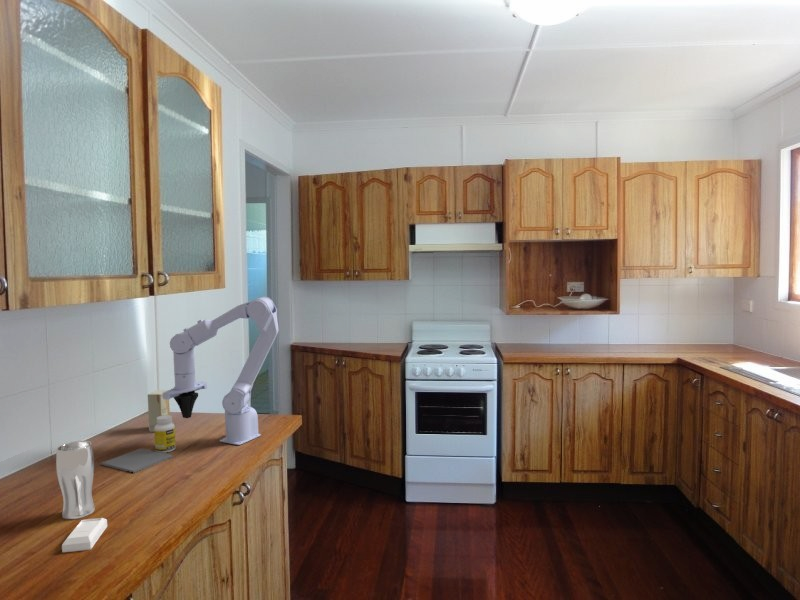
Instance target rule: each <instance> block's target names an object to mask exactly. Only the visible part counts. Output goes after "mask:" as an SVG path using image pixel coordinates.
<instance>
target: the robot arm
mask: <svg viewBox="0 0 800 600" xmlns="http://www.w3.org/2000/svg"><path fill="white" fill-rule="evenodd" d="M239 319H251V320H252V321H253V322H254V324H256V327H257V329H258V331H259V334H258V336H257V339H256V341H255V342H254V345H253V347H252V349H251V351H250V353H249V355H248V357H247V359H246V361H245V363H244V364H243V365H244V366H243V367H242V369H241V371H240V373H239V376H238V377H237V379H236V381H235V383H234V384H233V386H232V387H231V389H230V391H229V392H228V393H227V394H226V395H224V397H223V398H222V401H221V403H222V404H221V405H222V408H223V410H224V421H225V422H224V424H225V426H224V427H225V437H223V438H220V439H219V442H220V443H226V444H231V445H236V446H241V445H243V444H245V443H247V442H250V441H251V440H254V439H256V438H258V437H260V436H261V435H262V434H261V433H259V417H258V416H259V415H258V413H257V410H256V409H255V408H254V407H252V406H249V402H250V401H251V397H252V396H251V395H252V393H251V392H252V389H253V386H254V382H255V381H256V379H257V376H258V374H259V373H260V370H261V369H262V367H263V365H264V362H265V360H266V359H267V356H268V354H269V352H270V351H271V349H272V347H273V344H274V342H275V341H276V338H277V336H278V333H279V324H278V308H277V307H276V305H275V303H274V301H273V300H272V299H271V298H270V297H268V296H260V297H258V298H255V299H252V300H250V301H246V302H244V303H241V304H238V305H236V306H234V307H232V308H231V309H230V310H227V311H226V312H225V313H222V314H220V316H218V317H216V318H215V319H207V318H205V319H202V318H200V319H199V320H198V321H197V323H196V324H194V325H192V326H190V327H185V328H184V329H183V331H182V332H179V333H176V334H175V335H173V336H172V337H171V339H170V341H169V347H170V349H171V350H172V353H173V374H174V387H173V388H171V389H167V390H168V391H166V392H163V399H166V400H168V399H169V400H171V399H172V398H173V399H174V401H175V402H176V404H177V405H178V407H179V410H180V411H181V412H180V413H181V415H182V418H183V419H189V418H192V414H193V411H194V410H193V409H194V406H195V403H196V400H197V399H198V397H199V393H198V392H196V391H200V390H206V389H207V388H208V383H207V382H206V381H201V382H196V368H195V367H196V366H195V365H196V364H195V363H196V362H195V351H194V349H195V347H196V346H200V345H202V344H203V343H205V342H207V341H209V340H210V339H213V338H214V337H216V336H217V333H218V330H220V329H221V328H223V327H225V326H227V325H229V324H231V323H233V322H235V321H237V320H239Z"/></svg>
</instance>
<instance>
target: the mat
mask: <svg viewBox="0 0 800 600" xmlns="http://www.w3.org/2000/svg"><path fill="white" fill-rule="evenodd" d="M169 458H170V459H172V458H173V455H172V454H168V453H161V452H156V451H155V450H152V449H146V448H143V447H141V448H138V449H135V450H133V451H130V452H127V453H124V454H121V455H118V456H117V457H113V458H111V459H108V460H104V461H103V462H101V465H102V466H105V467H108V468H112V469H116V470H120V471H123V470H124V472H127V471H129V472H128V473H131V472H133V473H132V474H135V473H137V471H138V472H140V471H143V470H146V469H147V467H148V468H150V467H153V466H155V465H157V464H160V463H162V462H164V460H165V461H167V460H170V459H169ZM161 461H162V462H161ZM159 462H160V463H159ZM154 464H155V465H154ZM152 465H153V466H152ZM142 469H143V470H142ZM139 470H140V471H139ZM134 472H135V473H134Z"/></svg>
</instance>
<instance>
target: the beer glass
mask: <svg viewBox="0 0 800 600" xmlns="http://www.w3.org/2000/svg"><path fill="white" fill-rule="evenodd" d="M92 444H93V442H91V441H89V440H77V441H75V440H74V441H71V442H67V443H64V444H61V445H59V446H57V447H56V449H55V450H56V454H55V455H56V457H55V461H56V463H55V465H56V467H55V468H56V475H57V482H58V483H59V487H60V490H61V495H62V501H63V506H62V514H61V516H62V518H63V519H65V520H77V519H82V518H85V517H87V516H89V515H92V514H93V513H94V512H95V509H96V506H95V504H94V503H95V502H94V500H93V494H92V493H93V492H92V491H93V490H92V489H93V482H94V474H95V457H94V450H93V445H92Z"/></svg>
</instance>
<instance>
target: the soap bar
mask: <svg viewBox="0 0 800 600" xmlns="http://www.w3.org/2000/svg"><path fill="white" fill-rule="evenodd" d="M107 528H108V519H106V518H104V517H98V518H87V519H82V520H80V521H79V523H78V524H77V525H76V527H74V529H73V530H72V531H71V533H70V534H69V535H68V536H67V538H66V539H64V541H63V543H62V545H61V550H62V553H69V552H70V553H71V552H72V553H73V552H79V551H89V550H92V549H93V547H94V546H95V544H96V543H97V541H98V540H99V539H100V537H101V536H102V534H103V533H104V531H105V530H106V529H107Z"/></svg>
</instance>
